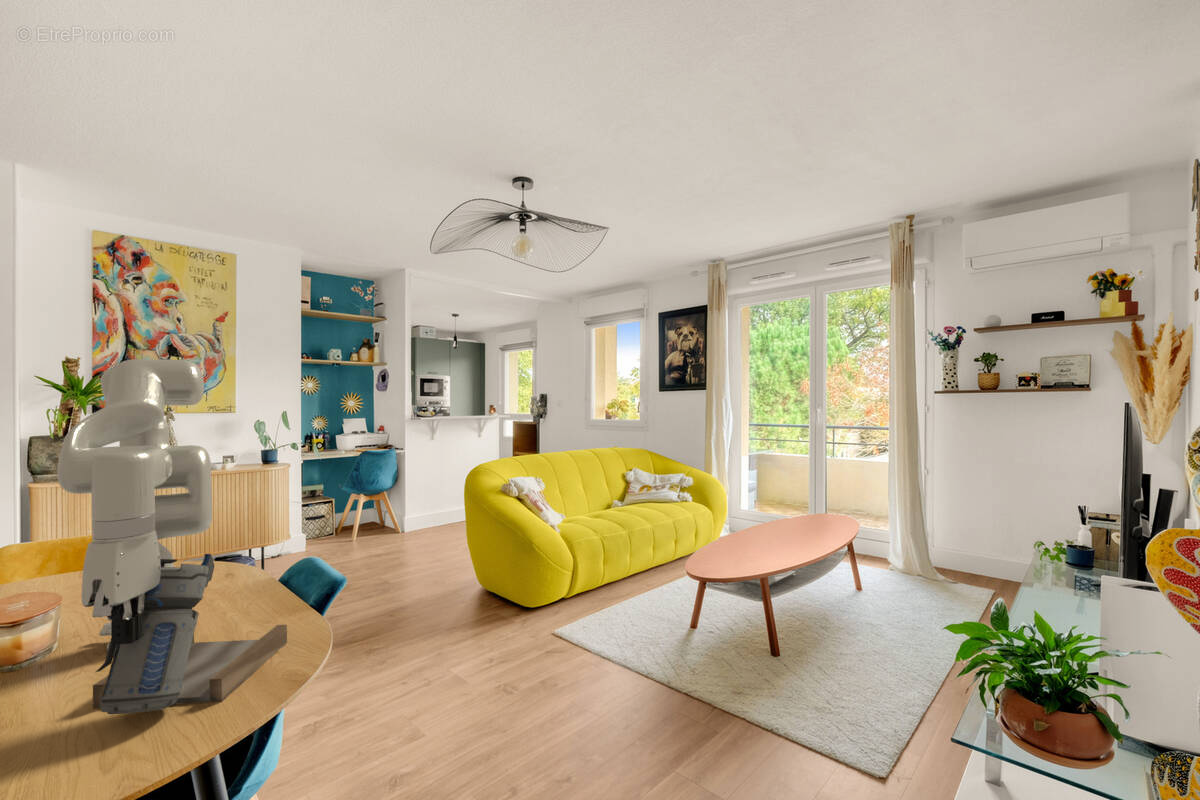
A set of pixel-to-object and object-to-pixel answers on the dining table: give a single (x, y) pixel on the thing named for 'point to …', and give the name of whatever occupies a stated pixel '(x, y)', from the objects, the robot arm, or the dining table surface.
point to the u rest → (219, 667)
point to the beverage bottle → (157, 643)
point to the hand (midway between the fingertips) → (126, 641)
